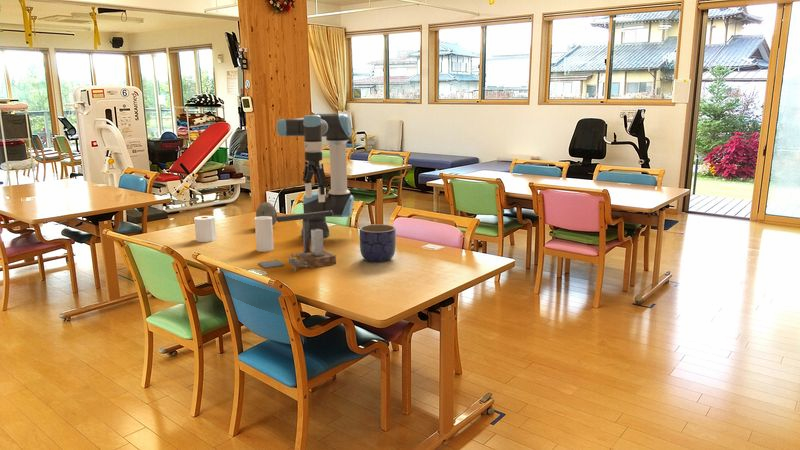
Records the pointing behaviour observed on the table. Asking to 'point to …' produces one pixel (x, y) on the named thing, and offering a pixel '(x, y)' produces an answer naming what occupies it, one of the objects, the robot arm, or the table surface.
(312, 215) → the dark grey bar
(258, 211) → the decorative egg
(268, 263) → the mat
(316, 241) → the peg
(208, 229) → the toilet paper
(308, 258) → the eye block
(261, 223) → the cup
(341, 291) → the table surface
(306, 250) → the handle post
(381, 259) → the planter
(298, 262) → the elephant figurine
